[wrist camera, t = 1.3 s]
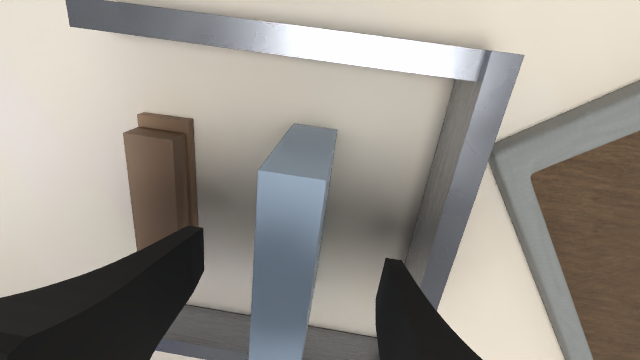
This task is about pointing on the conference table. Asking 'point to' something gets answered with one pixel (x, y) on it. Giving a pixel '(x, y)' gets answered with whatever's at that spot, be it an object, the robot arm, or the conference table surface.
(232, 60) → the conference table surface
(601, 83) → the conference table surface
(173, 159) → the offcut top
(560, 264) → the picture frame
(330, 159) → the panel
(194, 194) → the block
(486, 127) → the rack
